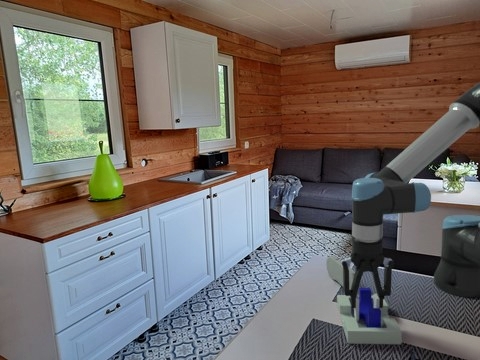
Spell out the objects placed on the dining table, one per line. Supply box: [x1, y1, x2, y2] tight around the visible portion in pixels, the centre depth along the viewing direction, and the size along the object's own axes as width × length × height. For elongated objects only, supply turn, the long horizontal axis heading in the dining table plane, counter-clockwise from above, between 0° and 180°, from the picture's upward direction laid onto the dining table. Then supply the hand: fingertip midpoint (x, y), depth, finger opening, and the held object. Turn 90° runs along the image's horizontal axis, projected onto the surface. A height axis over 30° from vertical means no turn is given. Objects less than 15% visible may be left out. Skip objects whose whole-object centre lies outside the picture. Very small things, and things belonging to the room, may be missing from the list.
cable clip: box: [359, 287, 381, 328], centre depth 97 cm, size 12×4×6 cm, turn 173°
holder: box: [336, 294, 403, 345], centre depth 97 cm, size 13×18×4 cm
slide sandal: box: [325, 254, 362, 295], centre depth 118 cm, size 20×2×8 cm, turn 13°
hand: (366, 317), depth 97 cm, fingers closed on cable clip, 4 cm apart
